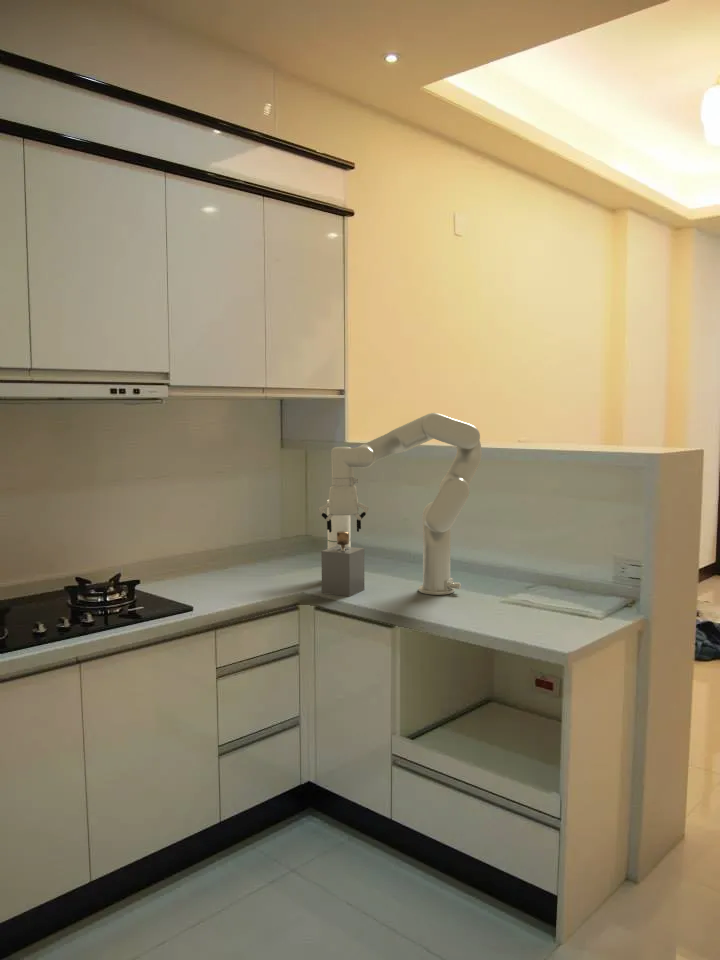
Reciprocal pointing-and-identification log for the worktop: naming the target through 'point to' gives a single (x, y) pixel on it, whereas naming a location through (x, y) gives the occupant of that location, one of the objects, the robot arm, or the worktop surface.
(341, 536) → the plunger
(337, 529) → the container
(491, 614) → the worktop surface
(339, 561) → the grey box
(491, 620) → the worktop surface
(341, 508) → the robot arm
